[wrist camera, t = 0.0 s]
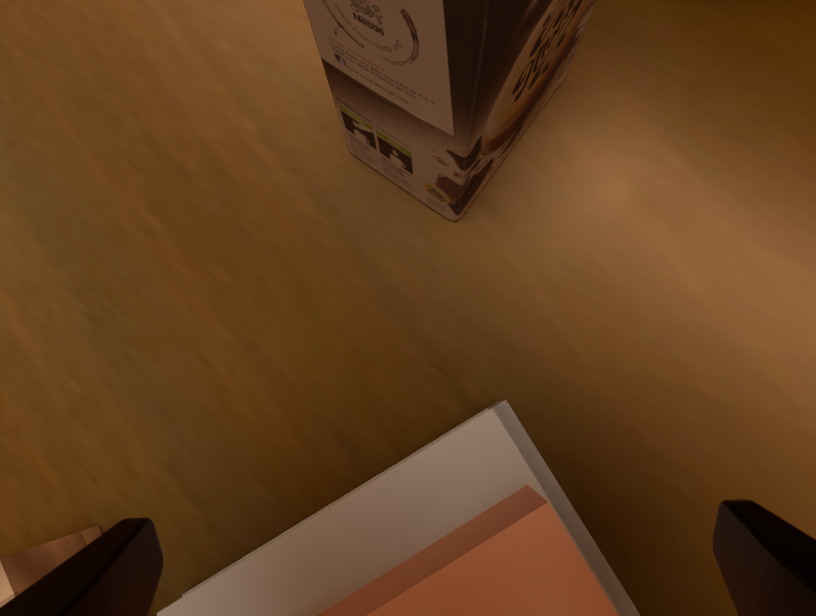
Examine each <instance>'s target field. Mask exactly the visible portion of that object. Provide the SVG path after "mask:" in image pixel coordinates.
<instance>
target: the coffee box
mask: <svg viewBox="0 0 816 616" xmlns="http://www.w3.org/2000/svg"><path fill="white" fill-rule="evenodd" d="M303 1H304V5H305V9H306V11H307V14H308V17H309V20H310V23H311V28H312V30H313V33H314V37H315V40H316V44H317V47H318V50H319V53H320V56H321V59H322V63H323V66H324V70H325V73H326V76H327V80H328V83H329V86H330V90H331V93H332V96H333V99H334V103H335V106H336V109H337V112H338V115H339V118H340V122H341V125H342V129H343V132H344V135H345V138H346V142H347V146H348V149H349V151H350V152H351V153H352V154H353V155H355V156H356V157H358V158H359V159H360V160H362V161H363V162H365V163H366V164H368V165H369V166H371V167H372V168H374V169H375V170H377V171H378V172H379V173H381V174H382V175H384V176H385V177H386V178H388V179H389V180H391V181H392V182H394V183H395V184H397V185H398V186H400V187H401V188H403V189H404V190H405V191H407V192H408V193H410V194H411V195H413V196H414V197H416V198H417V199H419V200H420V201H421V202H423V203H424V204H426V205H427V206H429V207H430V208H432V209H433V210H435V211H436V212H438V213H439V214H441V215H443V216H444V217H446V218H447V219H449V220H451V221H457V220H459V219H460V218H461V217H462V216H463V214H464V213H465V212H466V210H467V209H468V208H469V207H470V205H471V204H472V203H473V201H474V200H475V199H476V197H477V196H478V195H479V193H480V192H481V191H482V189H483V188H484V187H485V185H486V184H487V182H488V181H489V180H490V178H491V177H492V176H493V174H494V173H495V172H496V170H497V169H498V167H499V166H500V165H501V163H502V162H503V161H504V159H505V158H506V157H507V155H508V154H509V153H510V151H511V150H512V149H513V147H514V146H515V145H516V143H517V142H518V141H519V139H520V138H521V137H522V135H523V134H524V133H525V131H526V130H527V129H528V127H529V126H530V125H531V123H532V122H533V121H534V119H535V118H536V117H537V115H538V114H539V113H540V111H541V110H542V108H543V107H544V106H545V104H546V103H547V102H548V100H549V99H550V98H551V96H552V95H553V94H554V92H555V91H556V90H557V88H558V87H559V86H560V84H561V83H562V82H563V80H564V79H565V77H566V76H567V74H568V71H569V69H570V66H571V64H572V61H573V59H574V56H575V54H576V52H577V49H578V47H579V44H580V41H581V39H582V37H583V34H584V31H585V29H586V26H587V24H588V21H589V18H590V16H591V14H592V11H593V8H594V5H595V2H596V0H303Z"/></svg>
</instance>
